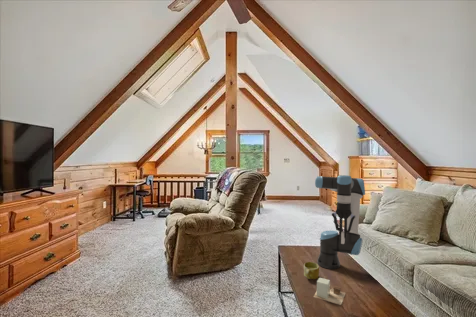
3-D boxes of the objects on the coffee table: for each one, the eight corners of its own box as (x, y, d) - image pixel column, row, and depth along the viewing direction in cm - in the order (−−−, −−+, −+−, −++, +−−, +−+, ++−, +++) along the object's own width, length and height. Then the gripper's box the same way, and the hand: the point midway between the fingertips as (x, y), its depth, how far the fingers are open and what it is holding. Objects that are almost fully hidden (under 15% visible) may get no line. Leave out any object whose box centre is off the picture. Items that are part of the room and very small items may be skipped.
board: (319, 287, 150) (320, 280, 150) (345, 294, 143) (345, 287, 143) (313, 298, 138) (313, 291, 138) (341, 307, 131) (341, 299, 131)
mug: (307, 268, 171) (310, 256, 167) (320, 278, 164) (324, 266, 160) (296, 277, 163) (298, 265, 159) (309, 288, 156) (312, 275, 152)
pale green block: (319, 291, 144) (319, 277, 144) (329, 294, 141) (329, 280, 141) (316, 295, 139) (316, 281, 139) (327, 298, 136) (327, 284, 136)
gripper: (330, 202, 149) (329, 242, 149) (355, 204, 142) (354, 247, 142) (333, 200, 155) (332, 239, 156) (357, 202, 148) (356, 243, 149)
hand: (342, 243), depth 149 cm, fingers closed
